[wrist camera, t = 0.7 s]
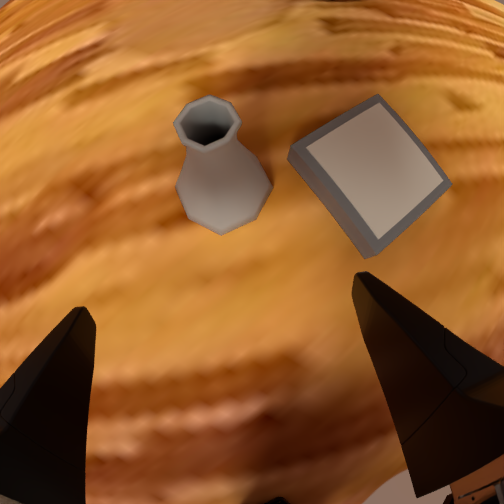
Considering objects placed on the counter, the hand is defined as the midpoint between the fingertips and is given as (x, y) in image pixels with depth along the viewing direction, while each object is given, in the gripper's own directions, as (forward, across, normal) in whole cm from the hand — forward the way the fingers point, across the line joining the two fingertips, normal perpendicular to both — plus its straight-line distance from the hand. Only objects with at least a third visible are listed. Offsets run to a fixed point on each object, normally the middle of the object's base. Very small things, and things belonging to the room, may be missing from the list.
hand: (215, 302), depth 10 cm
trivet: (+15, -12, +3) cm, 20 cm away
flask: (+16, 0, +3) cm, 16 cm away
